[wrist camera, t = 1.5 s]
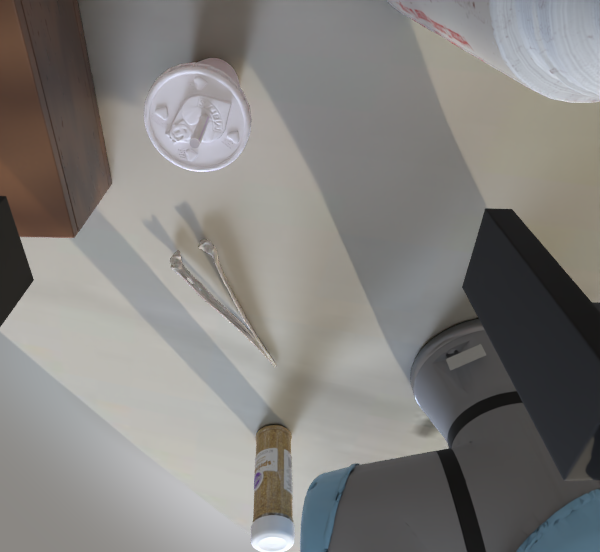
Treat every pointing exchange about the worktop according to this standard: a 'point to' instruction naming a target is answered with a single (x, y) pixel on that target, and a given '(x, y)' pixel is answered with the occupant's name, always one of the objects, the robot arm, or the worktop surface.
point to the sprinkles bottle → (273, 491)
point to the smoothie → (198, 115)
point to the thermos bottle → (523, 40)
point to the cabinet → (70, 100)
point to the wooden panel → (28, 138)
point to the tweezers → (205, 295)
